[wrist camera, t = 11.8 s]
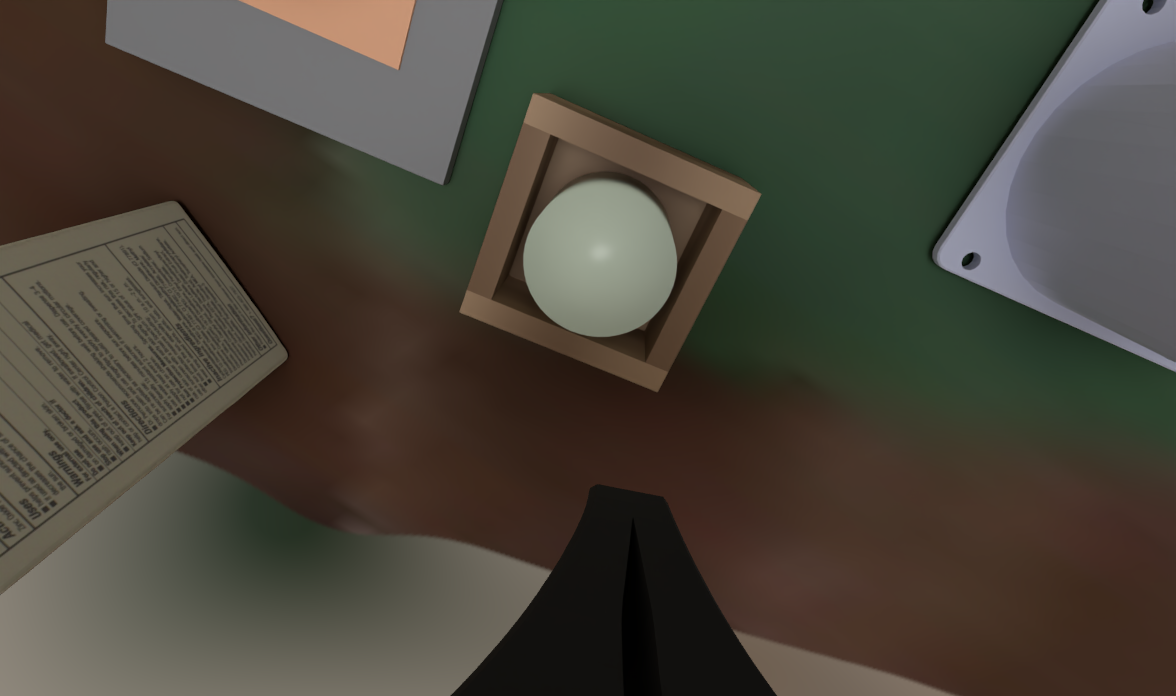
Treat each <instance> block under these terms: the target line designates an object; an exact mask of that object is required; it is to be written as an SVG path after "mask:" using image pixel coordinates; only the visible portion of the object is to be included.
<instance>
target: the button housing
mask: <svg viewBox="0 0 1176 696" xmlns="http://www.w3.org/2000/svg"><path fill="white" fill-rule="evenodd" d="M605 171H607V172H617V173H621V174H625V175H628V176H631V177H633V178H635V179H637V180H639V181H640V182H642V183H643V184H645V185H646V186H647V187H648V188H649V189H650V190H651V191H653V192H654V194H655V195H656V196H657V197H658V199H659V200H660V202H661V203H662V205H663V207H664V209H665V211H666V214H667V217H668V220H669V224H670V228H671V232H672V236H673V240H674V244H675V248H676V255H677V270H676V278H675V281H674V285H673V288H672V290H671V293H670V295H669V297H668V299H667V300H666V302H665V304H664V305H663V306H662V308H661V309H660V310H659V311H658V312H657V313H656V314H655V315H654V316H653V317H652V318H651V319H650V320H649V321H647V322H646V323H645V324H643V325H642V326H640V327H638V328H636V329H634V330H632V331H630V332H627V333H624V334H620V335H616V336H610V337H593V336H586V335H582V334H578V333H575V332H572V331H570V330H568V329H566V328H564V327H562V326H560V325H559V324H557V323H556V322H554V321H553V320H552V319H551V318H549V317H548V316H547V315H546V314H545V313H544V312H543V311H542V310H541V309H540V307H539V306H538V305H537V303H536V302H535V300H534V298H533V297H532V295H531V293H530V291H529V288H528V286H527V283H526V279H525V275H524V267H523V254H524V248H525V243H526V240H527V236H528V234H529V232H530V229H531V227H532V225H533V224H534V222H535V220H536V219H537V217H538V216H539V215H540V214H541V213H542V211H543V210H544V209H545V208H546V206H547V205H548V204H549V203H550V201H551V200H552V199H553V198H554V197H555V195H556V194H557V193H558V192H559V191H560V190H561V189H562V188H563V187H564V186H565V185H567V184H568V183H570V182H571V181H573V180H574V179H576V178H578V177H580V176H583V175H586V174H590V173H595V172H605ZM760 196H761V193H759V192H758V191H757V190H756V189H754V188H753V187H752V186H751V185H749V184H748V183H747V182H746V181H744V180H743V179H742V178H740V177H738V176H735V175H733V174H731V173H729V172H726V171H724V170H722V169H720V168H717V167H715V166H713V165H711V164H708V163H706V162H704V161H702V160H699V159H697V158H695V157H693V156H690V155H688V154H686V153H684V152H681V151H679V150H677V149H675V148H672V147H670V146H668V145H666V144H663V143H661V142H659V141H657V140H654V139H652V138H650V137H647V136H645V135H643V134H641V133H638V132H636V131H634V130H632V129H629V128H627V127H625V126H623V125H620V124H618V123H616V122H614V121H611V120H609V119H607V118H605V117H602V116H600V115H598V114H596V113H593V112H591V111H589V110H587V109H584V108H582V107H580V106H578V105H575V104H573V103H571V102H569V101H566V100H564V99H562V98H560V97H557V96H555V95H553V94H551V93H533V96H532V99H531V102H530V105H529V108H528V111H527V114H526V117H525V120H524V122H523V125H522V128H521V131H520V134H519V137H518V140H517V143H516V146H515V149H514V152H513V155H512V158H511V161H510V164H509V167H508V170H507V173H506V176H505V179H504V182H503V185H502V188H501V191H500V194H499V197H498V200H497V203H496V205H495V208H494V211H493V214H492V217H491V220H490V223H489V226H488V229H487V232H486V235H485V238H484V241H483V244H482V247H481V250H480V253H479V256H478V259H477V262H476V265H475V268H474V271H473V274H472V277H471V280H470V283H469V286H468V288H467V291H466V294H465V297H464V300H463V303H462V306H461V309H460V313H463V314H465V315H468V316H470V317H473V318H475V319H477V320H480V321H482V322H485V323H487V324H490V325H492V326H495V327H497V328H500V329H502V330H505V331H507V332H510V333H512V334H515V335H517V336H520V337H522V338H524V339H527V340H529V341H532V342H534V343H537V344H539V345H542V346H544V347H547V348H549V349H552V350H554V351H557V352H559V353H562V354H564V355H567V356H569V357H571V358H574V359H576V360H579V361H581V362H584V363H586V364H589V365H591V366H594V367H596V368H599V369H601V370H604V371H606V372H609V373H611V374H614V375H616V376H619V377H621V378H623V379H626V380H628V381H631V382H633V383H636V384H638V385H641V386H643V387H646V388H648V389H651V390H653V391H656V392H658V391H659V389H660V387H661V385H662V383H663V381H664V379H665V377H666V375H667V374H668V372H669V370H670V368H671V366H672V364H673V362H674V360H675V358H676V356H677V354H678V353H679V351H680V349H681V347H682V345H683V343H684V341H685V339H686V337H687V335H688V333H689V332H690V330H691V328H692V326H693V324H694V322H695V320H696V318H697V316H698V314H699V312H700V311H701V309H702V307H703V305H704V303H705V301H706V299H707V297H708V295H709V293H710V291H711V290H712V288H713V286H714V284H715V282H716V280H717V278H718V276H719V274H720V272H721V270H722V269H723V267H724V265H725V263H726V261H727V259H728V257H729V255H730V253H731V251H732V249H733V248H734V246H735V244H736V242H737V240H738V238H739V236H740V234H741V232H742V230H743V228H744V227H745V225H746V223H747V221H748V219H749V217H750V215H751V213H752V211H753V209H754V207H755V206H756V204H757V202H758V200H759V198H760Z"/></svg>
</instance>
